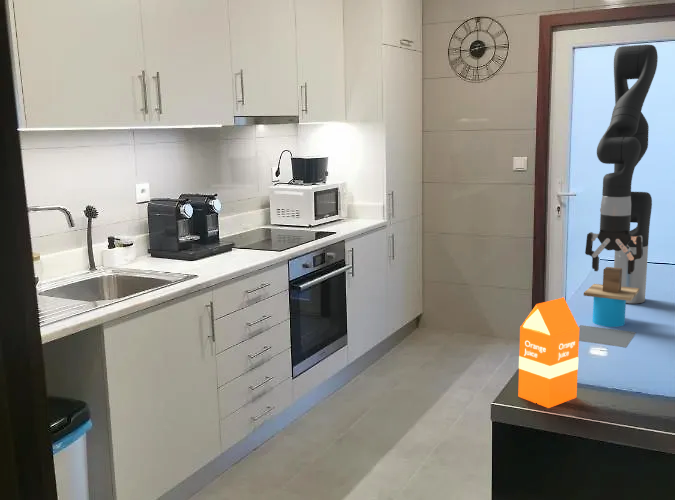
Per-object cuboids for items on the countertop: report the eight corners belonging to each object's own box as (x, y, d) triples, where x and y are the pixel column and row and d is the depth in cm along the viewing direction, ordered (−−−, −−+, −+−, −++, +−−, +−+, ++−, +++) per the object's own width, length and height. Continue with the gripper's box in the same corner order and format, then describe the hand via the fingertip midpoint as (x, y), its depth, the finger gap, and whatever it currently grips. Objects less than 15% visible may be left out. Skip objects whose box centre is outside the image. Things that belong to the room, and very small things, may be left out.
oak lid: (593, 286, 198) (594, 263, 197) (639, 291, 192) (640, 266, 191) (583, 295, 188) (584, 270, 187) (631, 300, 182) (632, 275, 181)
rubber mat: (580, 326, 188) (580, 325, 188) (636, 333, 181) (636, 332, 181) (566, 340, 177) (567, 338, 176) (625, 348, 169) (626, 347, 169)
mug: (620, 330, 184) (622, 300, 183) (588, 325, 189) (590, 296, 188) (630, 319, 194) (632, 290, 193) (600, 315, 199) (601, 287, 197)
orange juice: (577, 397, 140) (581, 300, 137) (548, 408, 135) (552, 308, 132) (545, 386, 147) (548, 293, 143) (517, 396, 142) (519, 300, 138)
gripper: (646, 212, 186) (643, 272, 189) (591, 209, 193) (588, 267, 196) (642, 215, 179) (638, 277, 182) (584, 213, 187) (582, 272, 190)
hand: (612, 272), depth 189 cm, fingers open, 8 cm apart
